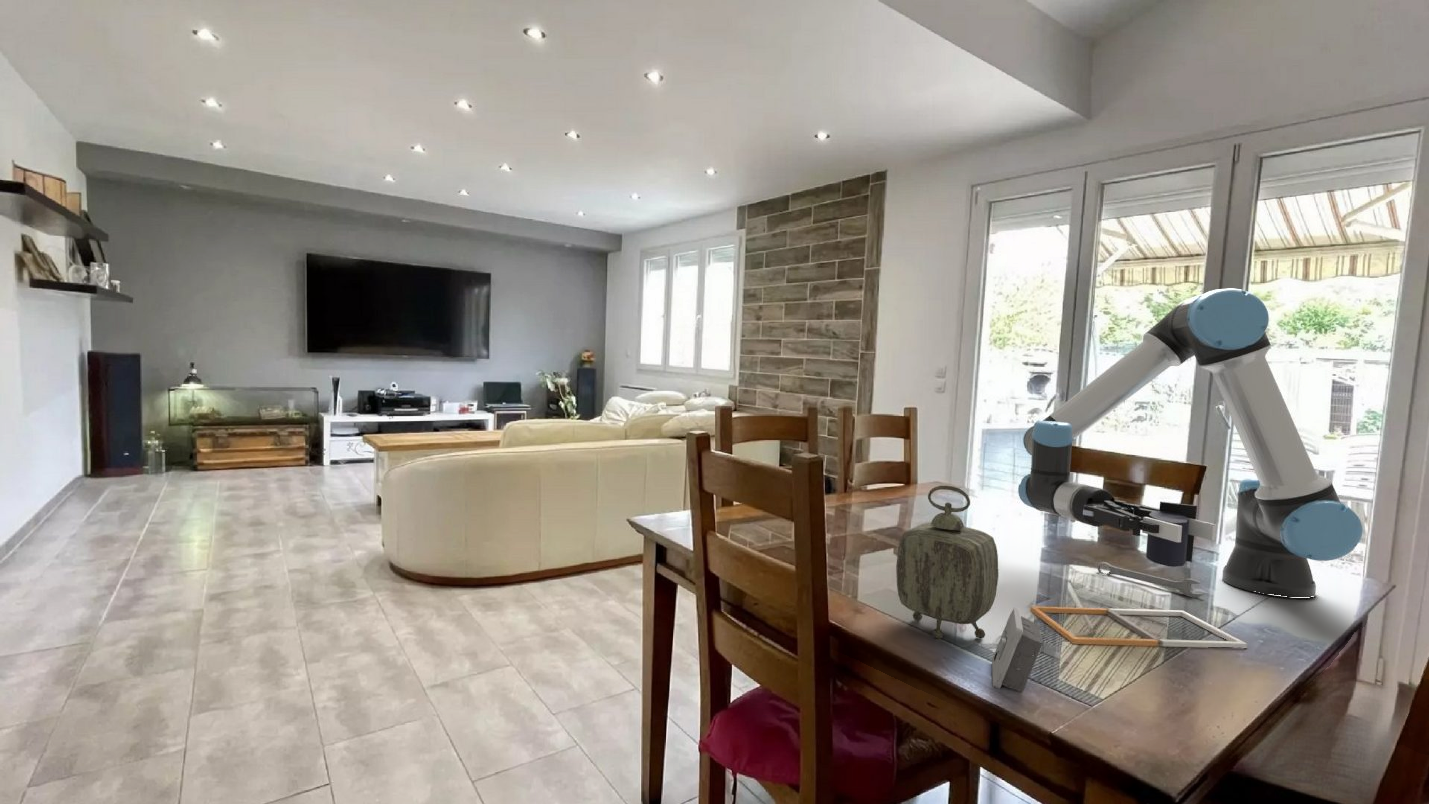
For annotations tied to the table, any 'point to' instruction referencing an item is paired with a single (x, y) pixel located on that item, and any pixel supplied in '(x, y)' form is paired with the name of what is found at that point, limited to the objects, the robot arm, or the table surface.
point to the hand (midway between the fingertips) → (1196, 533)
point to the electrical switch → (1016, 652)
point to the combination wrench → (1155, 580)
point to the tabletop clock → (947, 569)
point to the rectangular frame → (1136, 628)
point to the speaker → (1167, 549)
